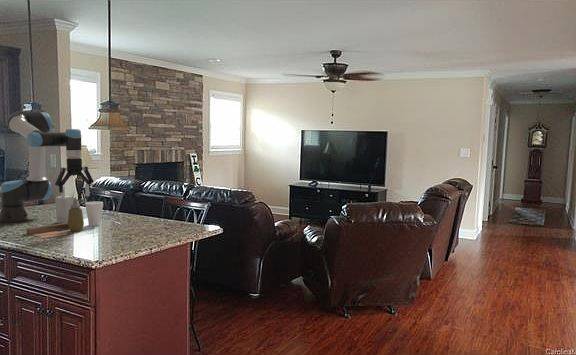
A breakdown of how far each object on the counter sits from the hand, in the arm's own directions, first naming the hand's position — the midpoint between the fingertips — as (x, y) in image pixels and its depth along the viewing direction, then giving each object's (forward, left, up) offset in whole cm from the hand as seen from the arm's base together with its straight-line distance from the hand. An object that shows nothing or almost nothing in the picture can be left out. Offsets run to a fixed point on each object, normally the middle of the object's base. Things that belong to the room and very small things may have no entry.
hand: (75, 197), depth 254 cm
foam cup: (-7, +15, -19) cm, 25 cm away
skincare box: (-25, +7, -19) cm, 32 cm away
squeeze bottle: (0, 0, -19) cm, 19 cm away
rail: (-3, -7, -18) cm, 20 cm away
